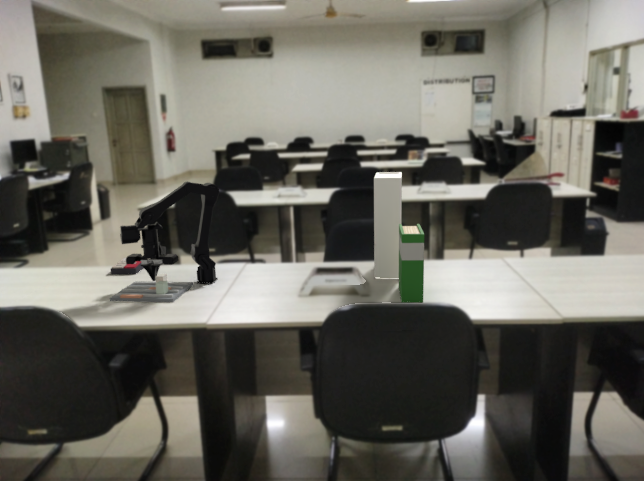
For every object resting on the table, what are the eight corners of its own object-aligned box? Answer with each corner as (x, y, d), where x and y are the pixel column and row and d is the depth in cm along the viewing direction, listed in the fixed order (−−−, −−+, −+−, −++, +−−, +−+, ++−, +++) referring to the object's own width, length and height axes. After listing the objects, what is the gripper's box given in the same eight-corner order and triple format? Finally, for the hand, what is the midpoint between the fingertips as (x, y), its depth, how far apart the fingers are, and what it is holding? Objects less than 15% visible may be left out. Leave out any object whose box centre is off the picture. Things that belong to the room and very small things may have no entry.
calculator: (109, 267, 225) (123, 256, 239) (111, 276, 226) (125, 265, 240) (135, 266, 224) (147, 256, 239) (136, 276, 225) (148, 265, 240)
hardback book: (398, 286, 199) (398, 224, 194) (418, 286, 198) (419, 223, 193) (401, 302, 182) (401, 234, 177) (423, 302, 181) (424, 234, 176)
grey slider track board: (193, 285, 208) (193, 280, 207) (173, 302, 188) (172, 296, 188) (135, 284, 211) (135, 279, 210) (109, 301, 192) (109, 295, 191)
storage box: (400, 279, 207) (401, 177, 198) (374, 279, 209) (373, 177, 200) (401, 265, 228) (401, 172, 219) (376, 264, 229) (376, 172, 220)
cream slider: (167, 283, 204) (166, 273, 204) (163, 286, 201) (162, 276, 200) (160, 283, 205) (159, 273, 204) (156, 286, 201) (155, 276, 201)
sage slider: (168, 291, 195) (167, 281, 194) (164, 294, 192) (163, 284, 191) (160, 291, 196) (159, 280, 195) (156, 294, 192) (155, 283, 191)
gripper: (182, 236, 206) (185, 274, 210) (136, 236, 208) (140, 274, 212) (170, 243, 195) (174, 283, 199) (123, 242, 198) (127, 282, 201)
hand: (154, 280), depth 203 cm, fingers closed
